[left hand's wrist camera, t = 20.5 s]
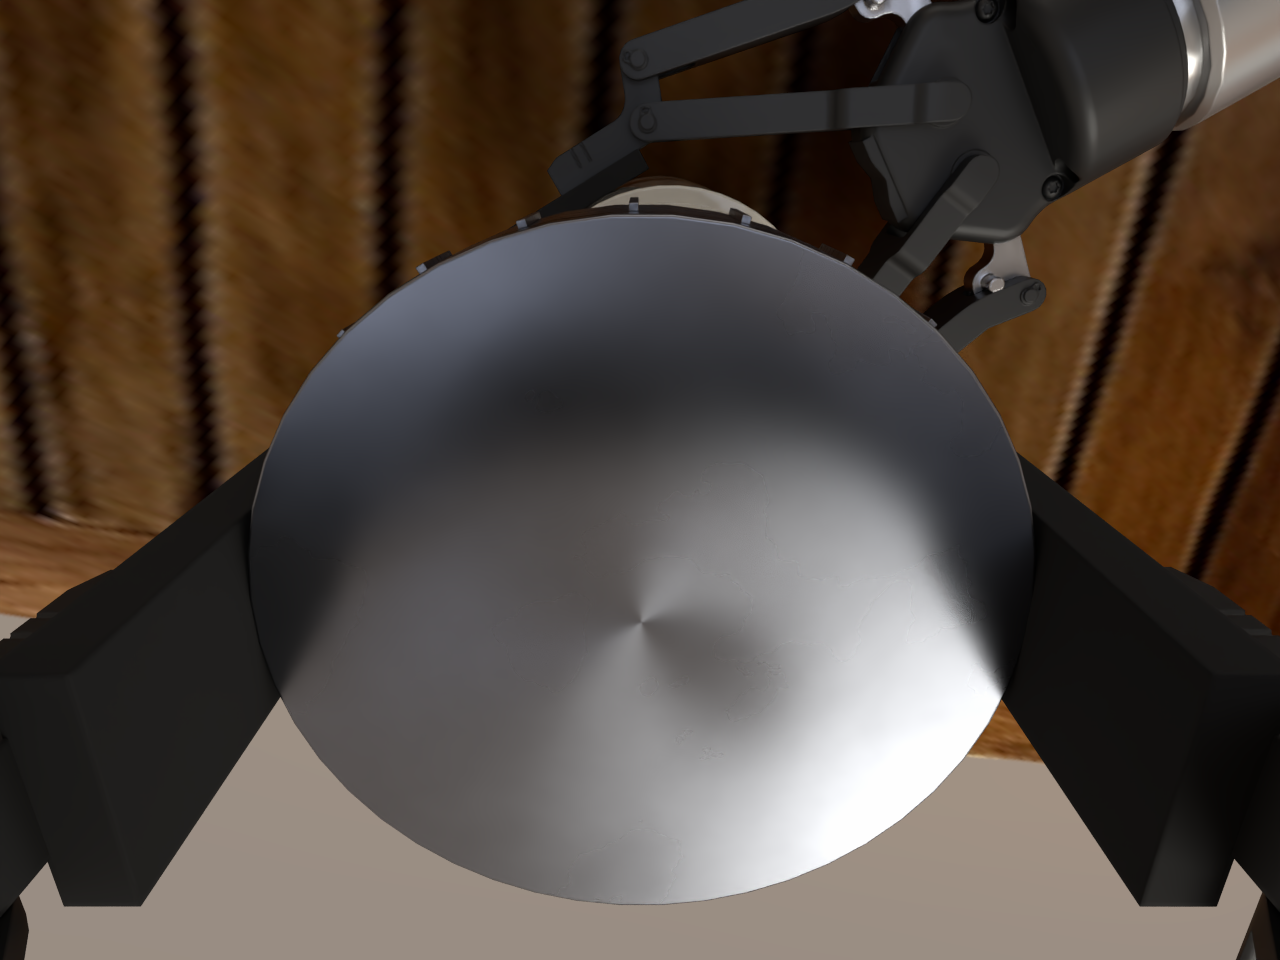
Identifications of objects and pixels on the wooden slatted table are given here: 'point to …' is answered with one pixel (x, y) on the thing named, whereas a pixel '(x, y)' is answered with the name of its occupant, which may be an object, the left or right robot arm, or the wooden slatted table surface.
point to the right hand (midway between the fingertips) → (560, 362)
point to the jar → (675, 196)
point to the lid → (641, 556)
